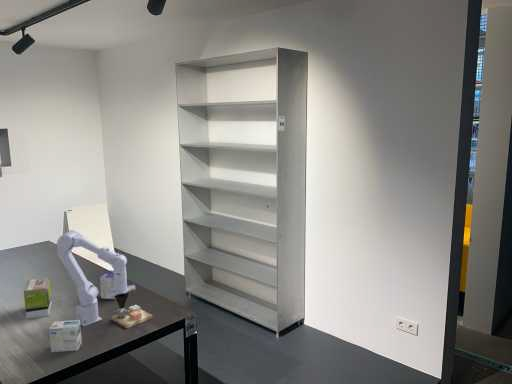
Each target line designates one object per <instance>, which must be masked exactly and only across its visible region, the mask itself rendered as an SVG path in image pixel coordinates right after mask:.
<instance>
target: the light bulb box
mask: <svg viewBox="0 0 512 384" xmlns="http://www.w3.org/2000/svg"><path fill="white" fill-rule="evenodd" d="M48 329H49V341H50V342H49V343H50V352H51V353H59V352H73V351H78V350H79V349H80V347H81V345H82V332H81V331H82V327H81V325H80V320H76V319H73V320H63V321H62V320H60V321H56V320H55V321H53V323H52V324H51V325H50V327H49V328H48Z"/></svg>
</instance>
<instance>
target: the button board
mask: <svg viewBox="0 0 512 384" xmlns="http://www.w3.org/2000/svg"><path fill="white" fill-rule="evenodd" d="M127 310H128V315H126V316H124V317H121V318H120V317H119V316H117V315H116V314H115V315H113V316H111V320H112V321H113V322H115V323H117V324H119V325H120V326H122V327H124V328H125V329H129V328H131V327H134V326H137V325H139V324H141V323H143V322H146V321H149V320H151V319H153V314H151V313H149V312H147V311H145V310H144V309H141V314H142V318H140V319H137V320H132V319H131V318H130V317H129V313H130V312H129V309H127Z"/></svg>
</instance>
